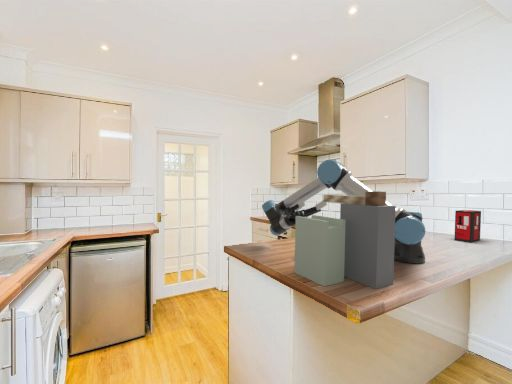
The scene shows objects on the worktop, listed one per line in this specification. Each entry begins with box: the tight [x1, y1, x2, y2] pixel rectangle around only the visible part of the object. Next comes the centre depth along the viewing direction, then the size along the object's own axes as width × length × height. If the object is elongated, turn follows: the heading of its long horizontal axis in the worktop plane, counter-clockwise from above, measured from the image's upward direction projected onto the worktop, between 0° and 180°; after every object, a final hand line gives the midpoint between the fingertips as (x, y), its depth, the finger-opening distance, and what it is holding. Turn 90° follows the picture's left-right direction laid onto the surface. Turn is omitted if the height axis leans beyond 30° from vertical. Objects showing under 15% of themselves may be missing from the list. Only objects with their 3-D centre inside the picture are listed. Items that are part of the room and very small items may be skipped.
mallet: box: [322, 190, 387, 206], centre depth 101 cm, size 25×5×5 cm, turn 36°
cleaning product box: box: [453, 209, 482, 244], centre depth 173 cm, size 16×9×20 cm, turn 124°
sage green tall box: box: [293, 214, 346, 287], centre depth 97 cm, size 16×10×22 cm, turn 31°
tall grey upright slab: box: [339, 203, 397, 290], centre depth 96 cm, size 16×10×28 cm, turn 31°
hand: (314, 202), depth 119 cm, fingers open, 13 cm apart
